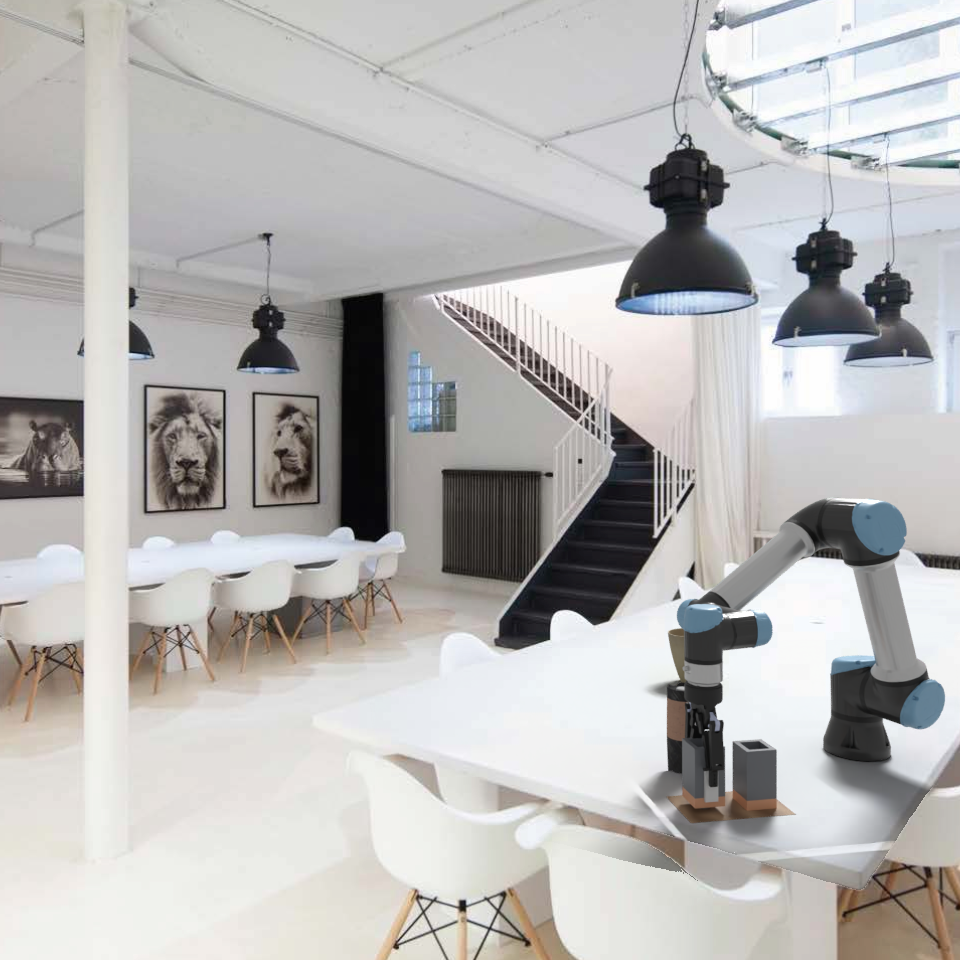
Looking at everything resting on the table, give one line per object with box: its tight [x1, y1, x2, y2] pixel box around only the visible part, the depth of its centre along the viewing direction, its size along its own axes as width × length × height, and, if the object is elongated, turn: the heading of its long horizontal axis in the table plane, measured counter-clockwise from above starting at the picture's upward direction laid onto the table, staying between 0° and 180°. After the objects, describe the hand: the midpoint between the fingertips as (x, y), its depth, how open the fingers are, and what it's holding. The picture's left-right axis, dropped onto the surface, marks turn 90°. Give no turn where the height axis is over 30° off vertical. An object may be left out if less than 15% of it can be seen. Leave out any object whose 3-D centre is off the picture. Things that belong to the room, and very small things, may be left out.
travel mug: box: [666, 681, 687, 775], centre depth 193 cm, size 8×8×20 cm
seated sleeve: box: [732, 738, 778, 811], centre depth 173 cm, size 6×6×12 cm
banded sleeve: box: [681, 738, 726, 809], centre depth 171 cm, size 6×6×12 cm
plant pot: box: [667, 627, 687, 683], centre depth 270 cm, size 15×15×16 cm
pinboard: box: [665, 790, 797, 824], centre depth 172 cm, size 22×13×8 cm, turn 99°
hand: (703, 793), depth 172 cm, fingers closed on banded sleeve, 6 cm apart
